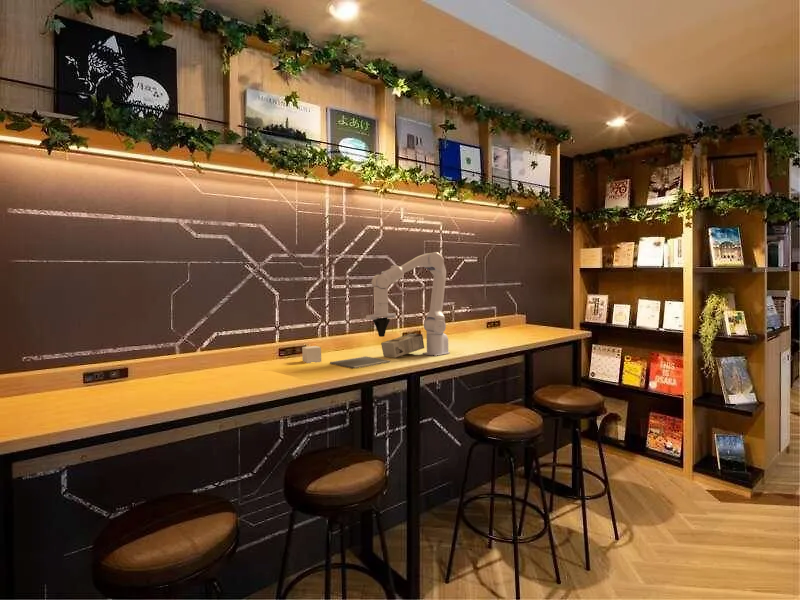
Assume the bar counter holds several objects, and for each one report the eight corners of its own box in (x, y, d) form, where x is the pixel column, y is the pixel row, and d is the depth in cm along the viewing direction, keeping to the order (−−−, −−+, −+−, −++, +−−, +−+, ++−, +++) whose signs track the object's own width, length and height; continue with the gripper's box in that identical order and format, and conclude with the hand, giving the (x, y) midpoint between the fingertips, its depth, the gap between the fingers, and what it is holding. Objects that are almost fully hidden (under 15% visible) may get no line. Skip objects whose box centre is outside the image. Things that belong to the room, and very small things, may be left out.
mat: (365, 357, 194) (365, 356, 194) (390, 362, 183) (390, 360, 183) (329, 363, 182) (329, 362, 182) (354, 368, 170) (354, 367, 170)
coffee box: (380, 342, 196) (409, 333, 206) (383, 356, 197) (412, 347, 206) (393, 342, 189) (422, 333, 199) (396, 358, 190) (425, 348, 199)
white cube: (321, 362, 187) (321, 347, 187) (307, 363, 184) (306, 348, 184) (316, 359, 192) (316, 345, 192) (302, 361, 189) (302, 346, 189)
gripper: (387, 302, 197) (388, 334, 198) (361, 304, 187) (361, 337, 188) (398, 302, 192) (399, 335, 192) (372, 304, 182) (372, 338, 183)
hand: (381, 336), depth 190 cm, fingers closed
